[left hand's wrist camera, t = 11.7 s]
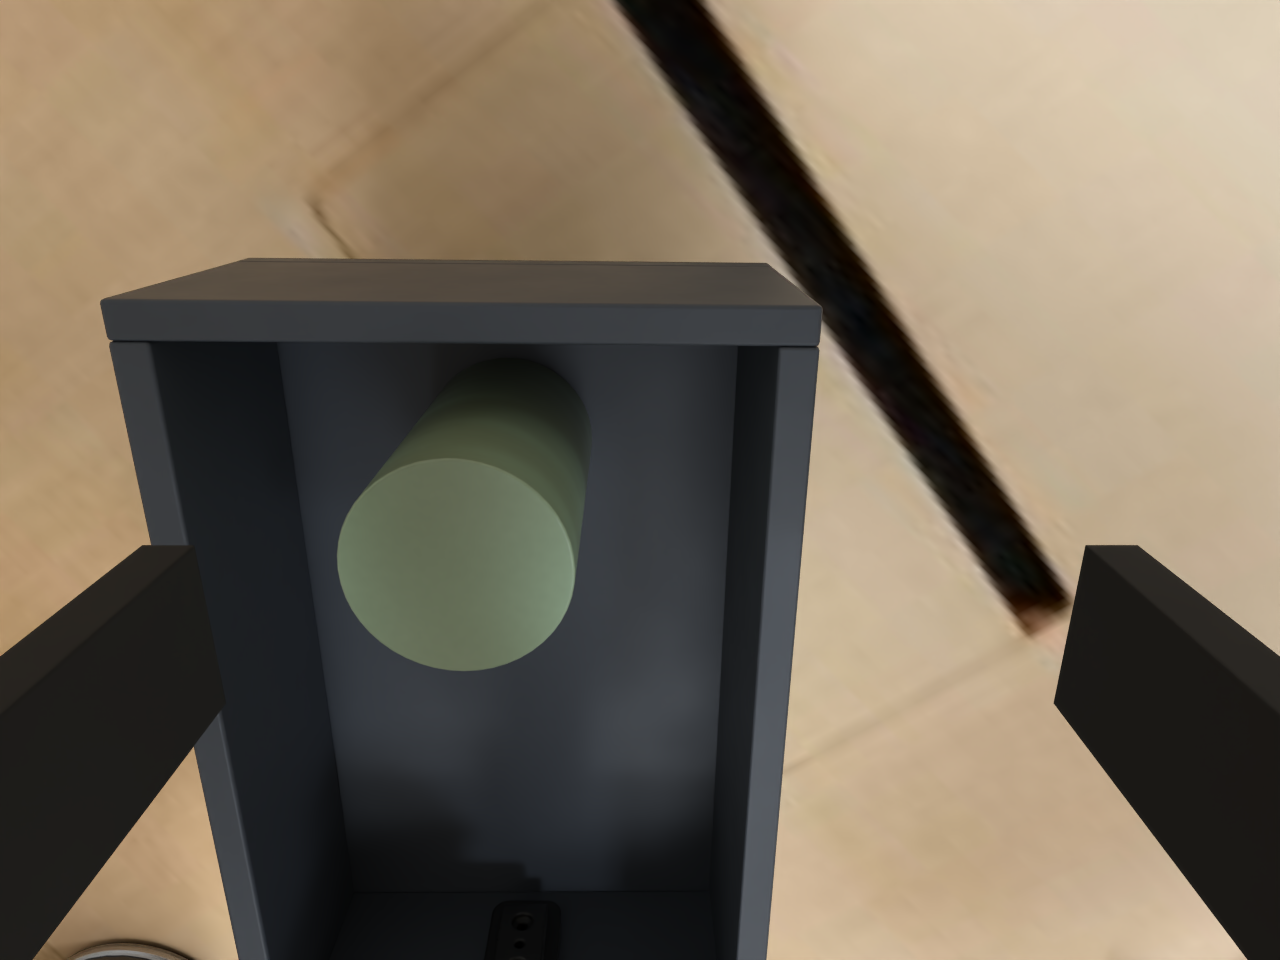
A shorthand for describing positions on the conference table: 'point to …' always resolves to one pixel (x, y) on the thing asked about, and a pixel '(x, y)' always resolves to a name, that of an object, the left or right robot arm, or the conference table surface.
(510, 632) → the peg
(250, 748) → the bin
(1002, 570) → the conference table surface
